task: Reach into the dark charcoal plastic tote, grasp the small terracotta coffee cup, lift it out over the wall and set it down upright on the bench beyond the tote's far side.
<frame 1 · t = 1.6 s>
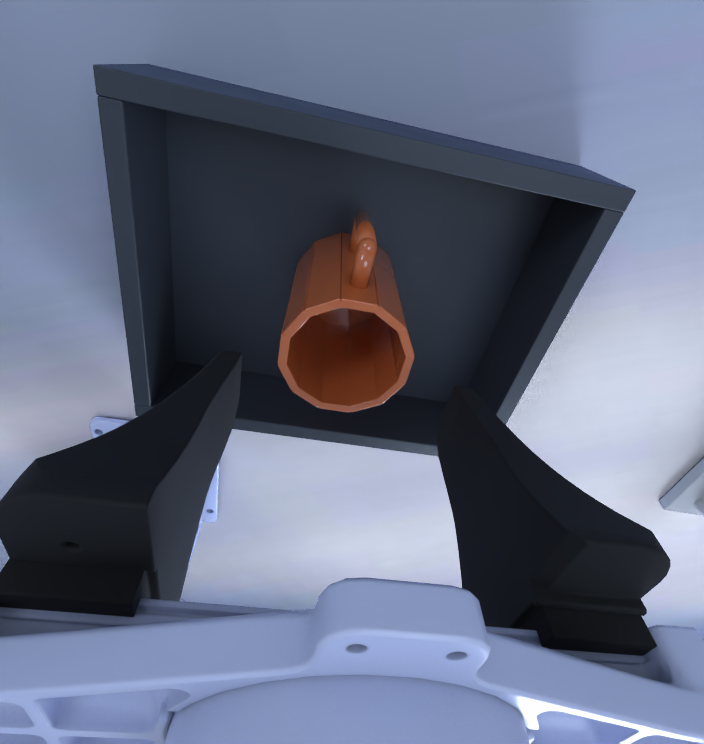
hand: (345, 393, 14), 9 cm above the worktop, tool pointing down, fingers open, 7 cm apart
cup: (345, 282, 22), resting on bin
bin: (345, 278, 22), on the worktop
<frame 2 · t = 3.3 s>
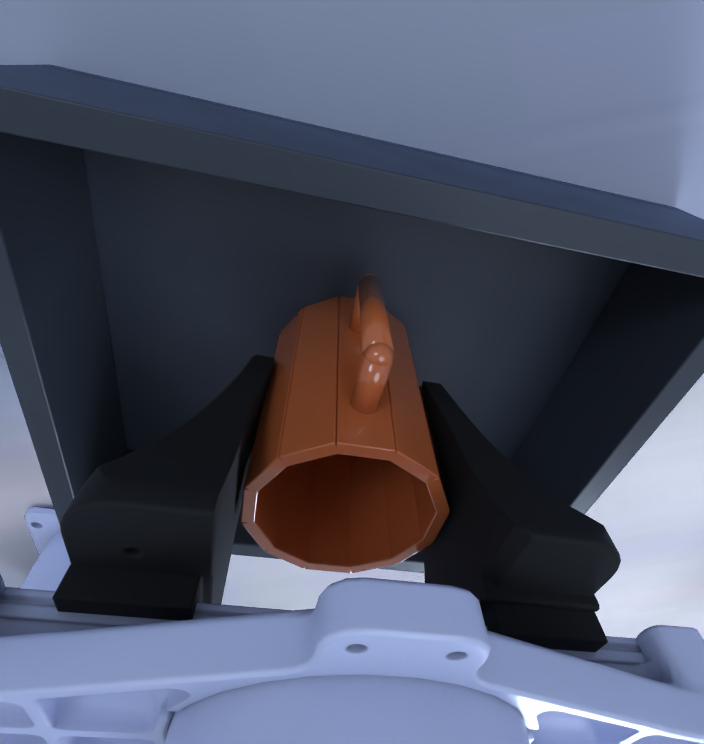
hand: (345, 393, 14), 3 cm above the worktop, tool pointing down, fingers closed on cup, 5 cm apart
cup: (344, 357, 16), point 1 cm above the worktop, touching bin, gripper
bin: (345, 350, 17), on the worktop
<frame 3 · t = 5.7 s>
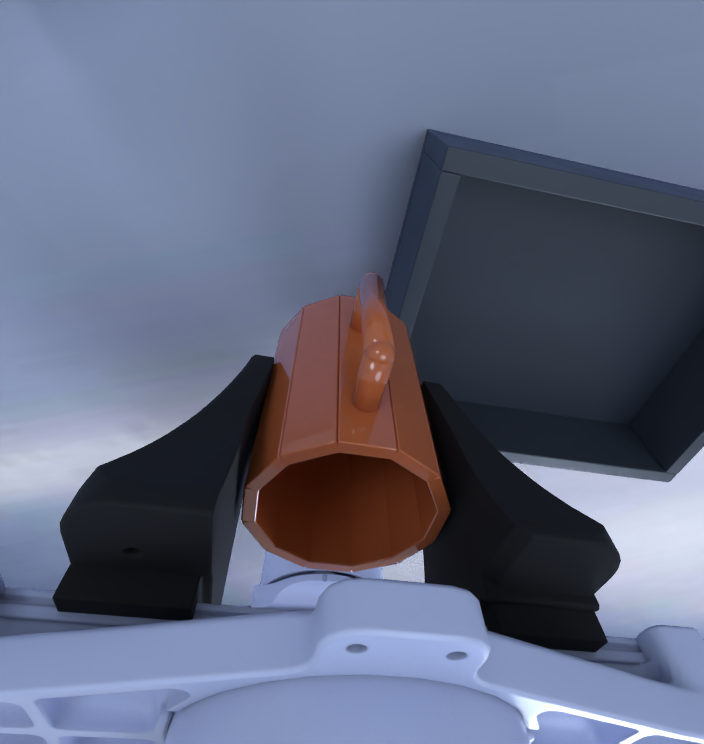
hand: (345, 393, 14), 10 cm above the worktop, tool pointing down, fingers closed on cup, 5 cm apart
cup: (345, 357, 16), point 7 cm above the worktop, touching gripper
bin: (550, 313, 24), on the worktop
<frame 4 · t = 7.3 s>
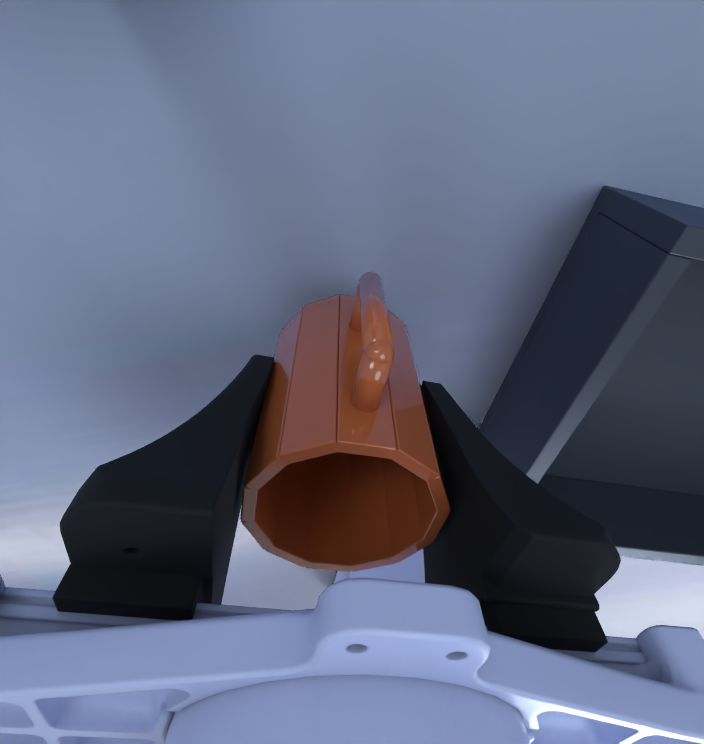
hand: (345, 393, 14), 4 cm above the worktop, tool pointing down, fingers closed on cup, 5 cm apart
cup: (344, 356, 16), point 2 cm above the worktop, touching gripper
bin: (699, 387, 20), on the worktop
when the fingers open (2 cm above the worktop, at t = 8.5 s): cup stays where it is, on the worktop.
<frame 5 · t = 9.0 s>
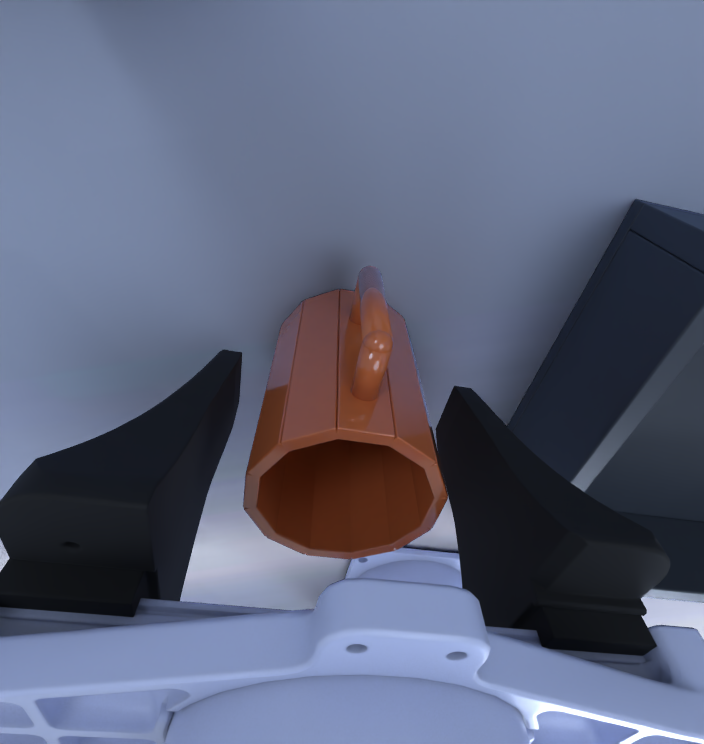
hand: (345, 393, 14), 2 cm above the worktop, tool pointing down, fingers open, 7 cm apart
cup: (344, 350, 16), on the worktop
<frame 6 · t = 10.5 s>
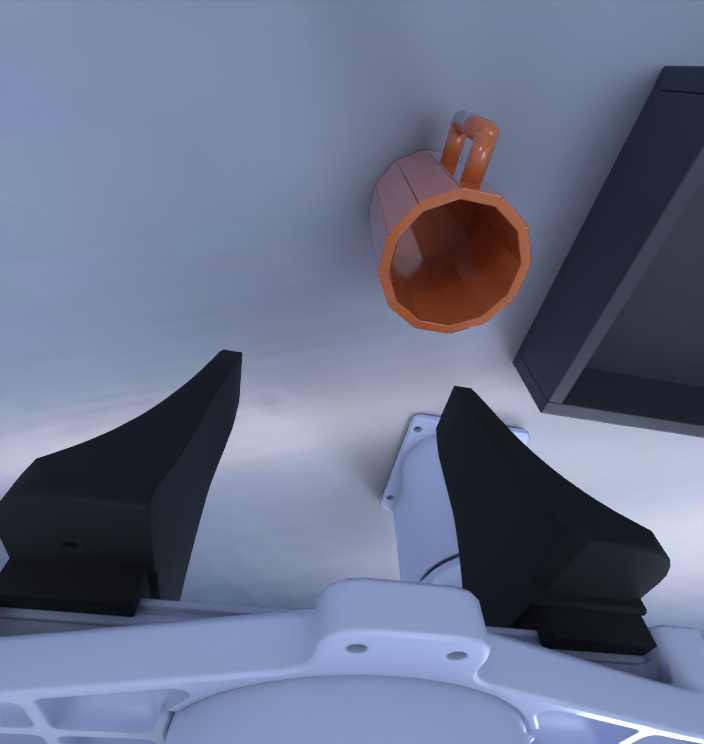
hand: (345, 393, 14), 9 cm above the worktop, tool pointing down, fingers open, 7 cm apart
cup: (423, 210, 20), on the worktop
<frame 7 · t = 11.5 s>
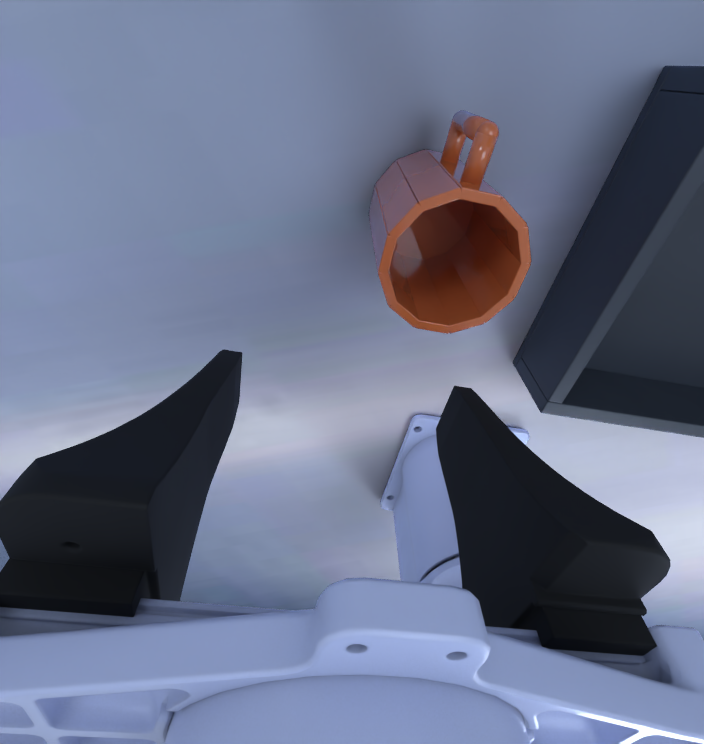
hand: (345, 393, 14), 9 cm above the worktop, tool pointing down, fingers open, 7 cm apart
cup: (423, 210, 20), on the worktop
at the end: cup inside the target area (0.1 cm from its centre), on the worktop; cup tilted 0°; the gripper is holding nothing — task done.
